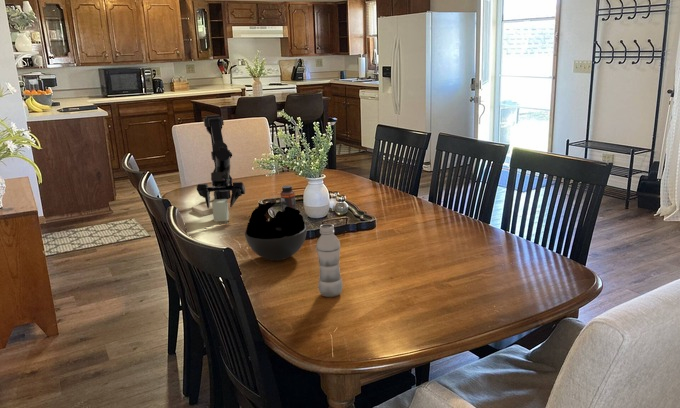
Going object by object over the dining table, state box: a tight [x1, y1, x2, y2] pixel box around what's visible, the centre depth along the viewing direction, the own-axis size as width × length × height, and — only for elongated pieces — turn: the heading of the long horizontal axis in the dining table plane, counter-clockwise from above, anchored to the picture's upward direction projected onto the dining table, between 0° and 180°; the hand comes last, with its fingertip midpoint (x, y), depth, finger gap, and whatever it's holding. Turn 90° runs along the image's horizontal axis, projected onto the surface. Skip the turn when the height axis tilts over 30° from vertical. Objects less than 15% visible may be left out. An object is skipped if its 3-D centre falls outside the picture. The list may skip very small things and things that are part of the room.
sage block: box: [211, 199, 230, 225], centre depth 230 cm, size 5×5×9 cm
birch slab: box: [191, 201, 213, 216], centre depth 243 cm, size 10×10×2 cm
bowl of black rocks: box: [244, 201, 308, 261], centre depth 185 cm, size 20×20×19 cm
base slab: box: [191, 210, 213, 217], centre depth 244 cm, size 11×11×2 cm
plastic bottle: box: [315, 223, 344, 298], centre depth 155 cm, size 6×7×20 cm
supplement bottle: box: [280, 184, 297, 212], centre depth 237 cm, size 6×6×11 cm
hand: (219, 207), depth 228 cm, fingers open, 9 cm apart
